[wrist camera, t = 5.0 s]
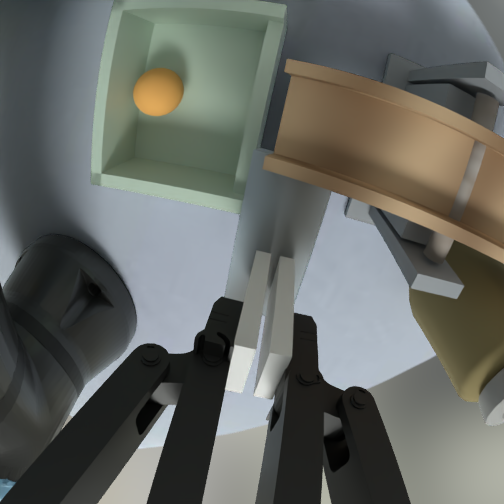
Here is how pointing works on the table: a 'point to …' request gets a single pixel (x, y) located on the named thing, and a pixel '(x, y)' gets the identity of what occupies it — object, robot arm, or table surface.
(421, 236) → the fulcrum
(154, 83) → the ball
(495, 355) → the squeeze bottle
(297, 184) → the lever
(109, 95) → the dish
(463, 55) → the table surface
